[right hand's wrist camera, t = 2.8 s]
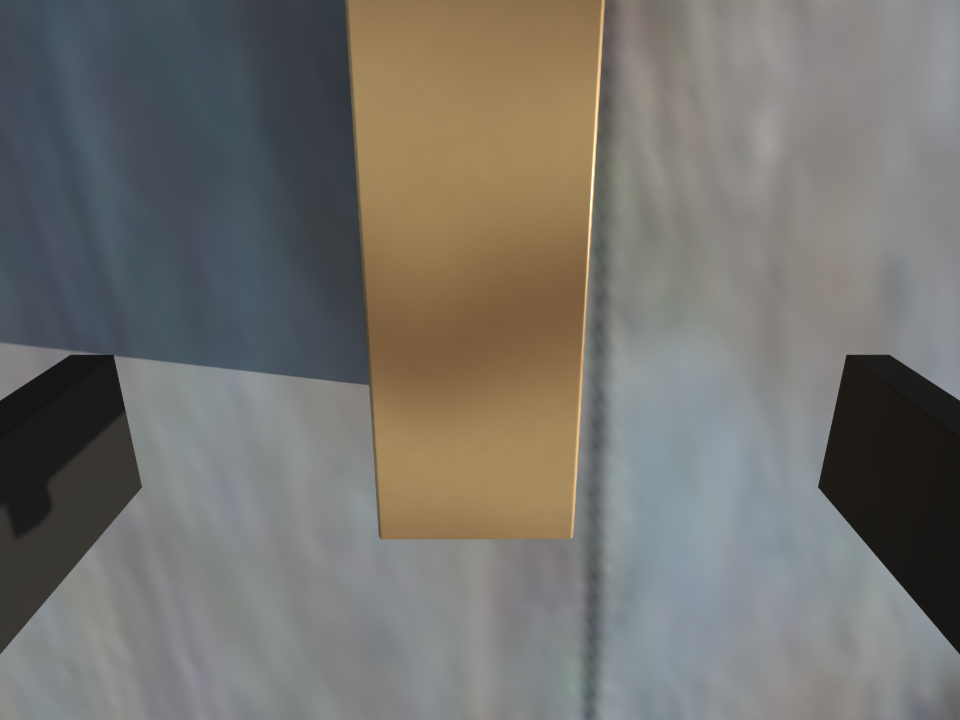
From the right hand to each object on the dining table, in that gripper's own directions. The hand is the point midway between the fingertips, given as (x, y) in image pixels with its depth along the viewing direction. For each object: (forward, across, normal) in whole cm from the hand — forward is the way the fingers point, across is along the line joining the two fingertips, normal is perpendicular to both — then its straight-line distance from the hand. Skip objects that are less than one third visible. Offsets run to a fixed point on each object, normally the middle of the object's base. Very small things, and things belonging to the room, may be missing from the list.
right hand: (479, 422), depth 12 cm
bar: (+12, 0, -8) cm, 14 cm away
